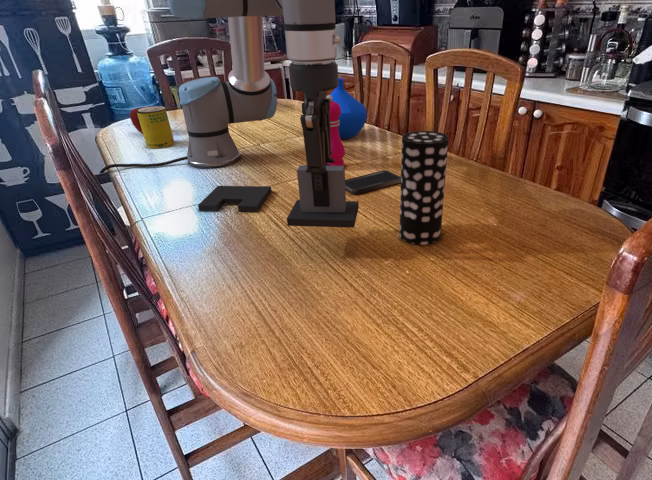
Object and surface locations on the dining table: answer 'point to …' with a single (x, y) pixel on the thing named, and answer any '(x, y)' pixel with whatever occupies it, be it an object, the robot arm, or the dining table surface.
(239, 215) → the dining table surface
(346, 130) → the vase
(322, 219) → the tab pad
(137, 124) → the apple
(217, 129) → the robot arm
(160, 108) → the yellow can
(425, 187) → the spotted tube
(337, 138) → the pepper mill
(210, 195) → the notch pad
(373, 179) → the phone
